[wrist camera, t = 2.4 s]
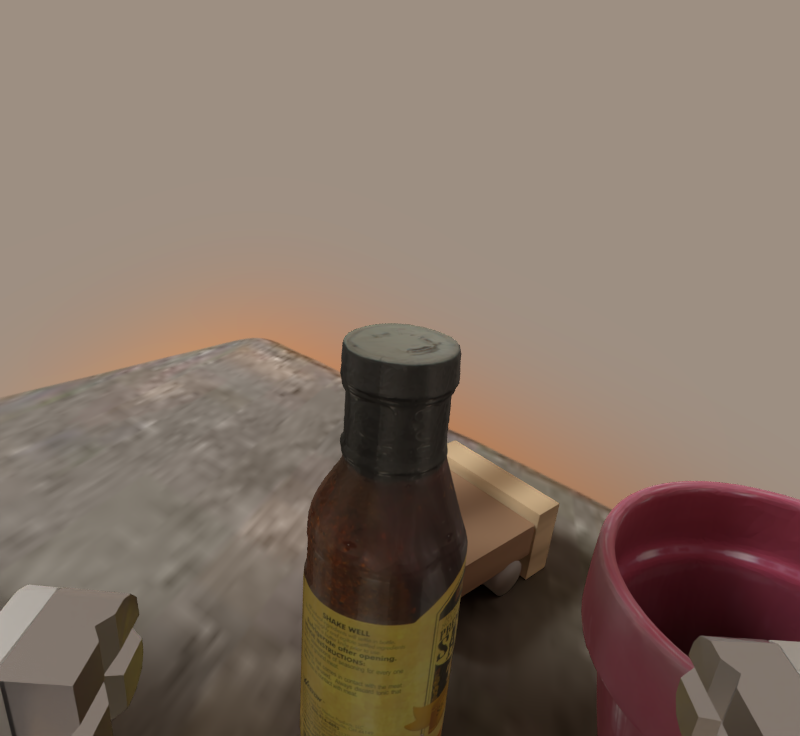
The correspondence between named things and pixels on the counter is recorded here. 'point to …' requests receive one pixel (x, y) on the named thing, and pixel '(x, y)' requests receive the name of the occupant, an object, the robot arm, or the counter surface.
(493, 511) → the roller board
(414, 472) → the sauce bottle
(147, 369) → the counter surface
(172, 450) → the counter surface
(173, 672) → the counter surface
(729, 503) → the plant pot
